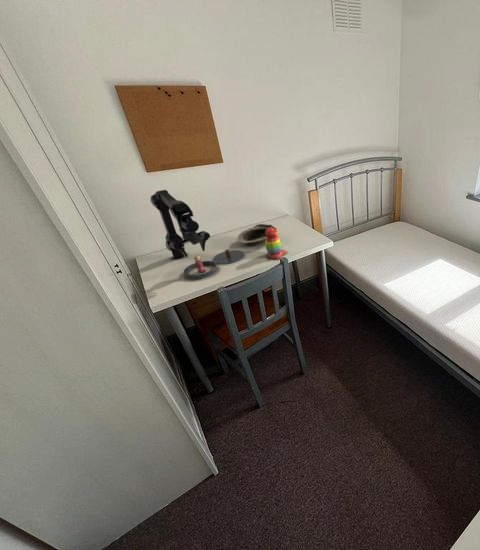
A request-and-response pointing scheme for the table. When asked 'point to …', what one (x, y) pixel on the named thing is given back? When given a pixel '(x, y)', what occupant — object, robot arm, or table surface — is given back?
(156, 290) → the table surface
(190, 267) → the pan
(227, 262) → the lid
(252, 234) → the stone bowl
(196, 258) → the doll
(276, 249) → the stacking bear
